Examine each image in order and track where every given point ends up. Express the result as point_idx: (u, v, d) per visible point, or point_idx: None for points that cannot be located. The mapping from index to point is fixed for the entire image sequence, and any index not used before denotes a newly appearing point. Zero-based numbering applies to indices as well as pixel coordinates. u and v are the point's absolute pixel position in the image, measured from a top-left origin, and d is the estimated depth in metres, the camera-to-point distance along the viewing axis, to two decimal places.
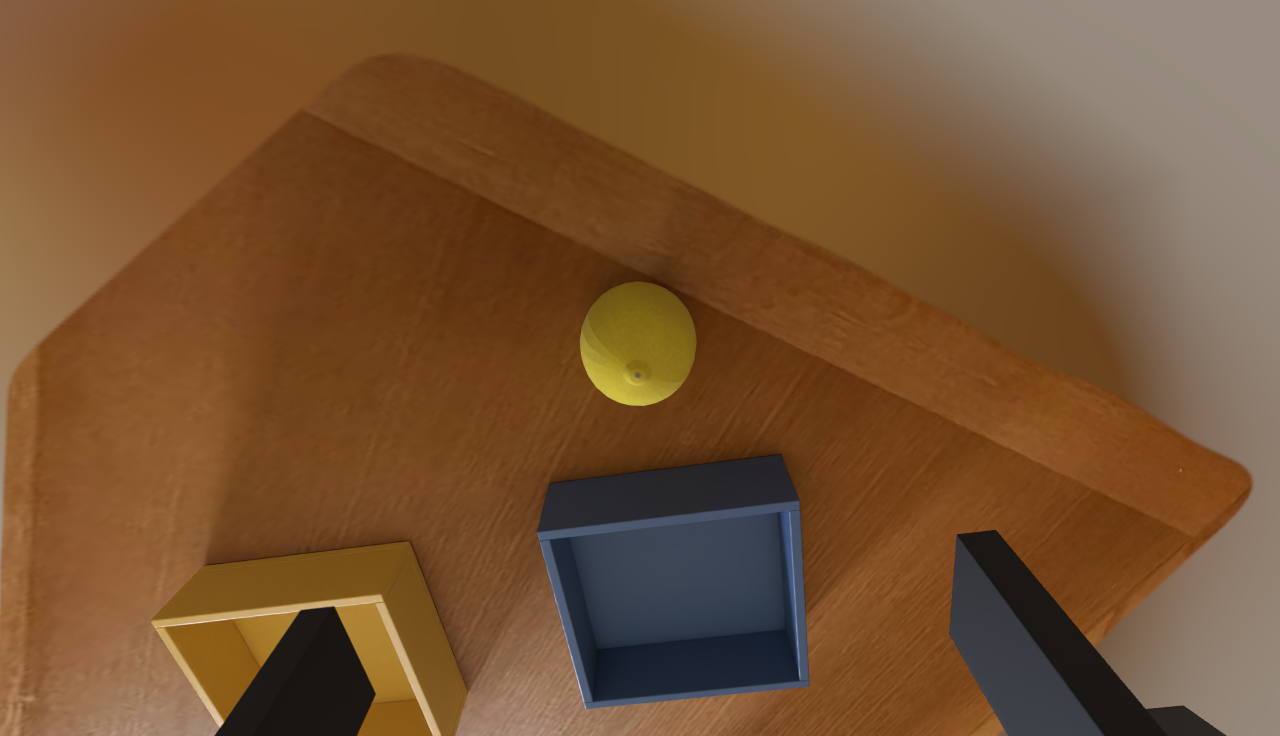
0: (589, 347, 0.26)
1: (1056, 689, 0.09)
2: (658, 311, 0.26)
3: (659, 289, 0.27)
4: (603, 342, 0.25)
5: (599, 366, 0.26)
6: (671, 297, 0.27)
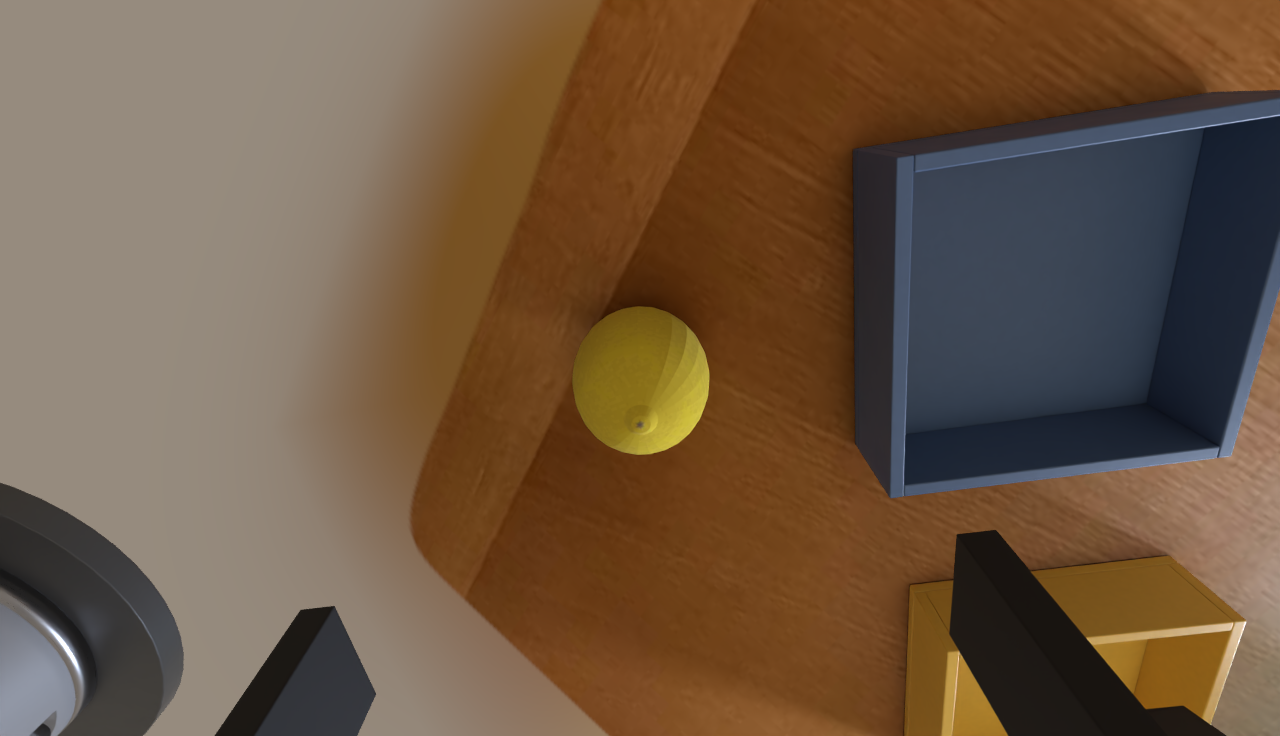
0: None
1: (1056, 689, 0.09)
2: (581, 377, 0.22)
3: (577, 354, 0.24)
4: (612, 444, 0.22)
5: (641, 451, 0.22)
6: (582, 344, 0.23)
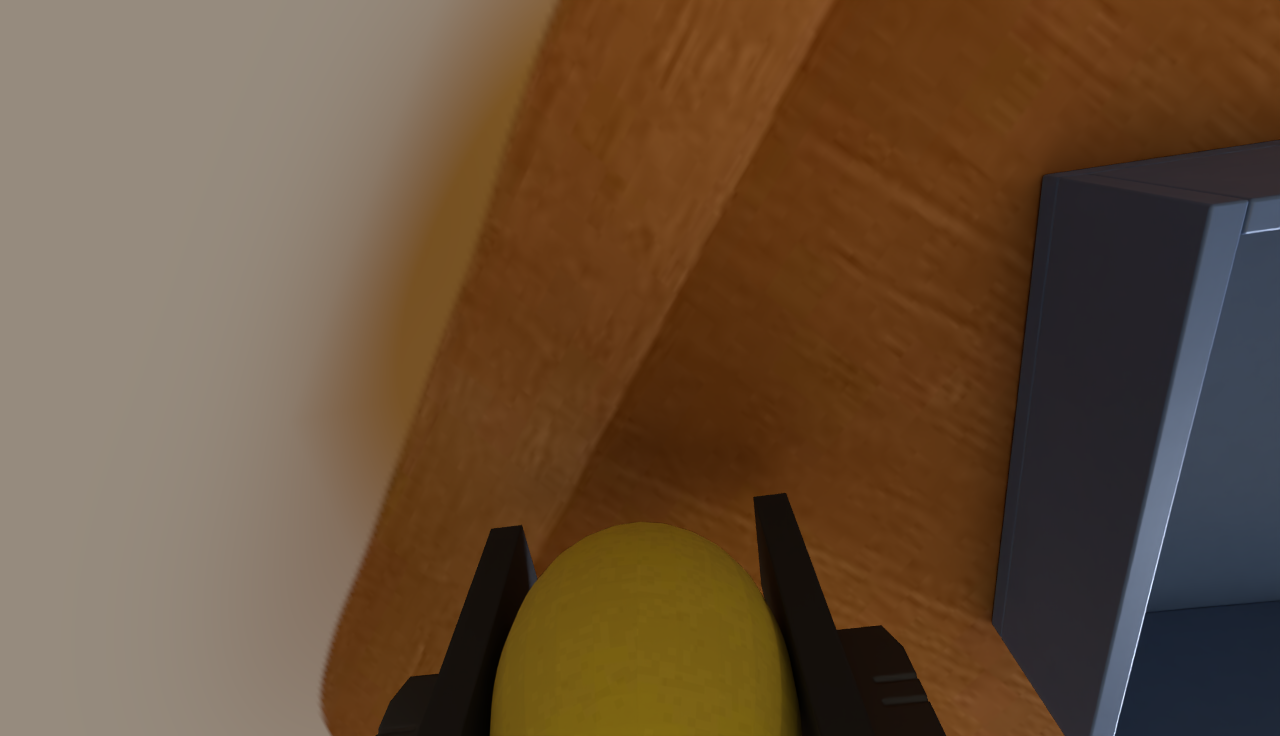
0: None
1: (783, 613, 0.11)
2: None
3: (503, 652, 0.11)
4: None
5: None
6: (513, 644, 0.10)
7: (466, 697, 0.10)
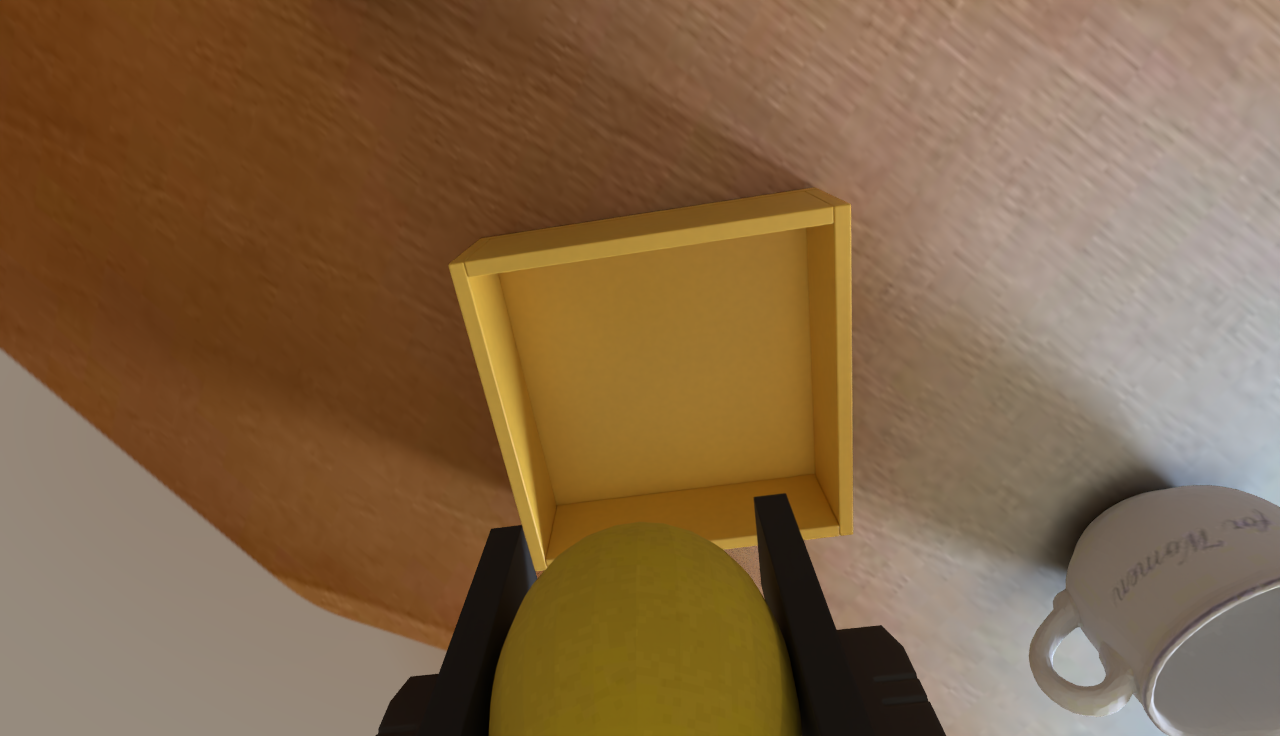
0: None
1: (783, 613, 0.11)
2: None
3: (502, 652, 0.11)
4: None
5: None
6: (512, 645, 0.10)
7: (466, 697, 0.10)
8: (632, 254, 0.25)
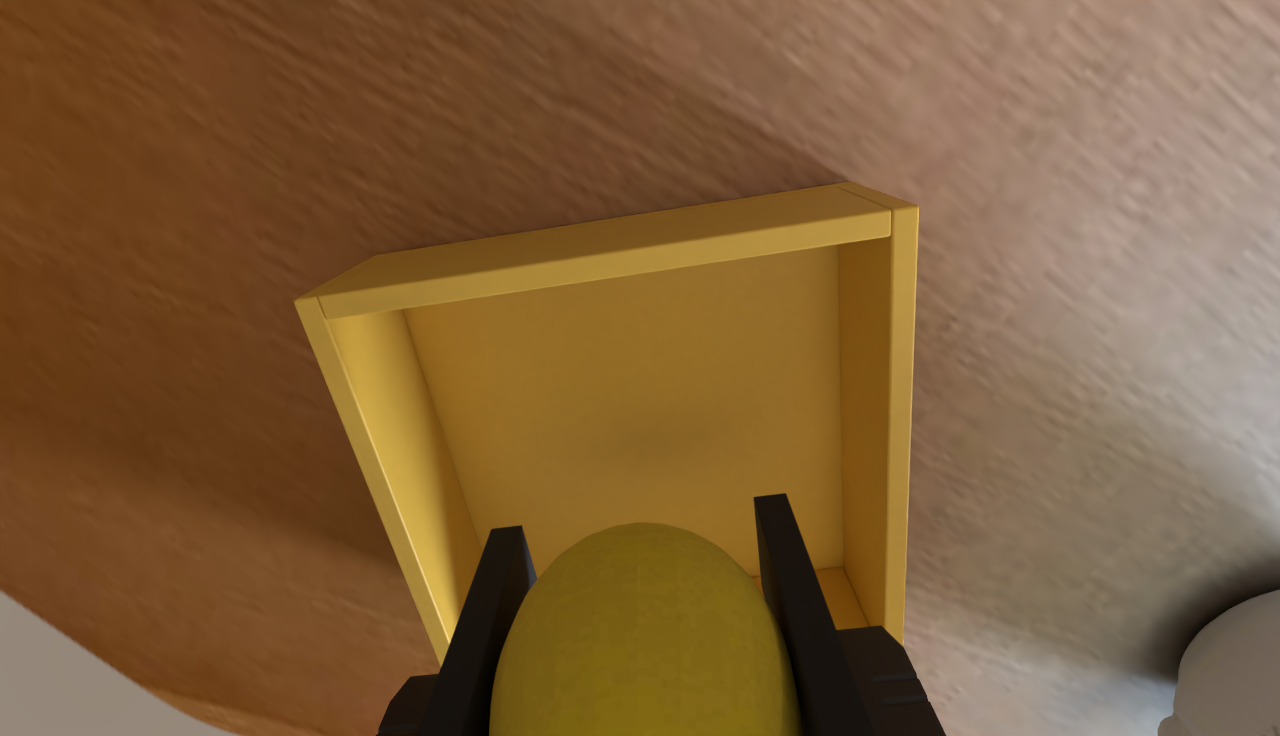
0: None
1: (783, 613, 0.11)
2: None
3: (502, 653, 0.11)
4: None
5: None
6: (512, 645, 0.10)
7: (466, 697, 0.10)
8: None
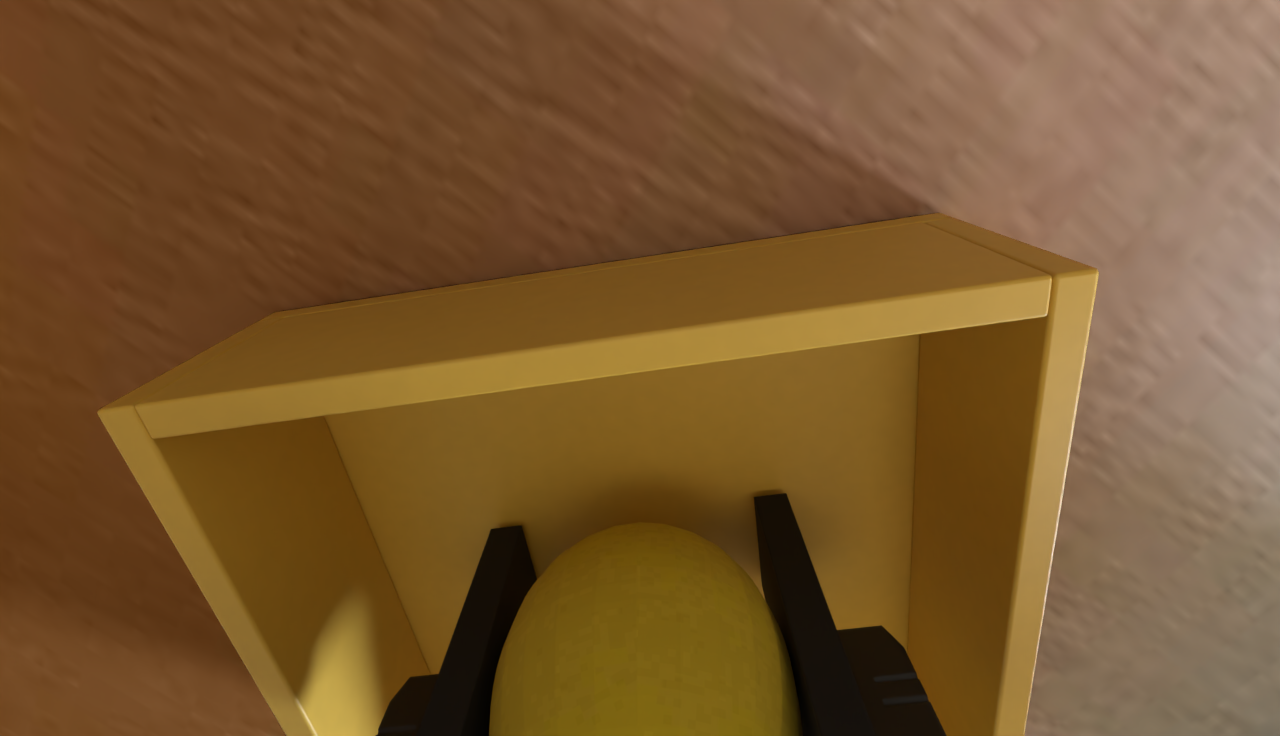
0: None
1: (783, 613, 0.11)
2: None
3: (502, 653, 0.11)
4: None
5: None
6: (512, 646, 0.10)
7: (466, 697, 0.10)
8: None
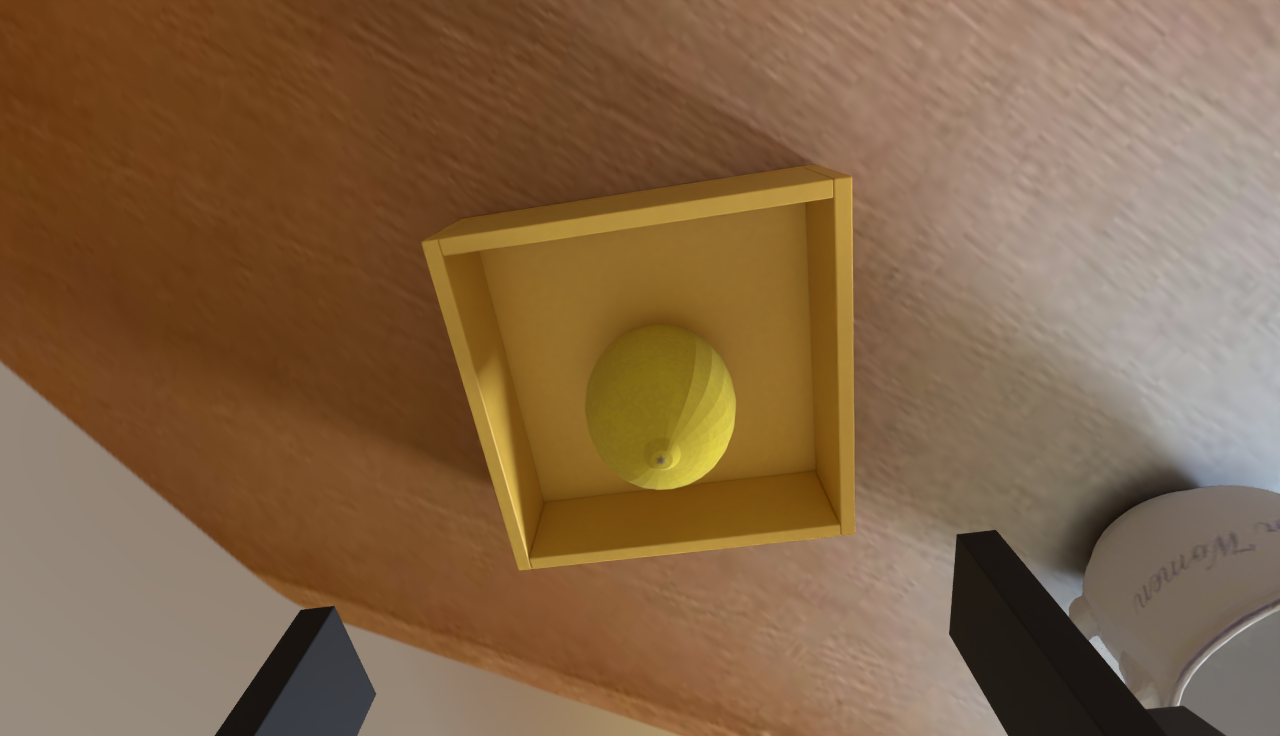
0: (642, 486, 0.21)
1: (1056, 689, 0.09)
2: (596, 405, 0.20)
3: (590, 377, 0.22)
4: (628, 479, 0.20)
5: (661, 487, 0.20)
6: (597, 367, 0.21)
7: None
8: (621, 235, 0.24)
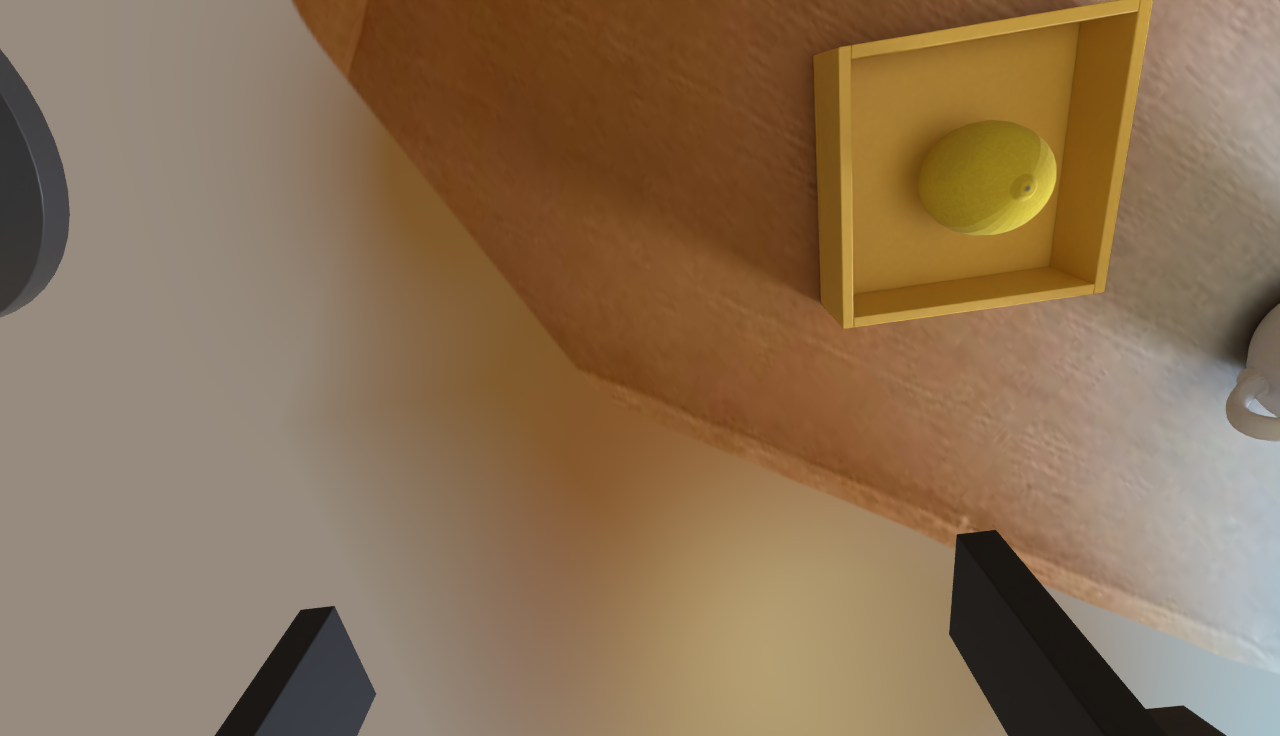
0: (984, 229, 0.29)
1: (1056, 689, 0.09)
2: (962, 164, 0.28)
3: (934, 158, 0.30)
4: (983, 217, 0.28)
5: (1006, 222, 0.28)
6: (945, 147, 0.29)
7: None
8: (936, 65, 0.32)
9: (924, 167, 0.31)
